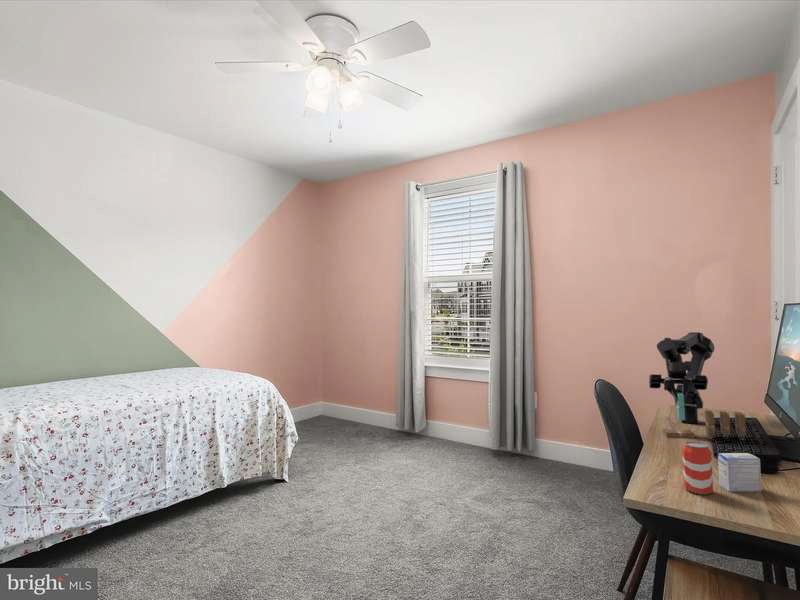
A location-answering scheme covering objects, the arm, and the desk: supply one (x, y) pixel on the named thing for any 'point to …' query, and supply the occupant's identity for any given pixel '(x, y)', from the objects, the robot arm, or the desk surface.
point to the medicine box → (739, 472)
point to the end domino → (680, 407)
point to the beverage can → (697, 467)
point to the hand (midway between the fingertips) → (680, 400)
